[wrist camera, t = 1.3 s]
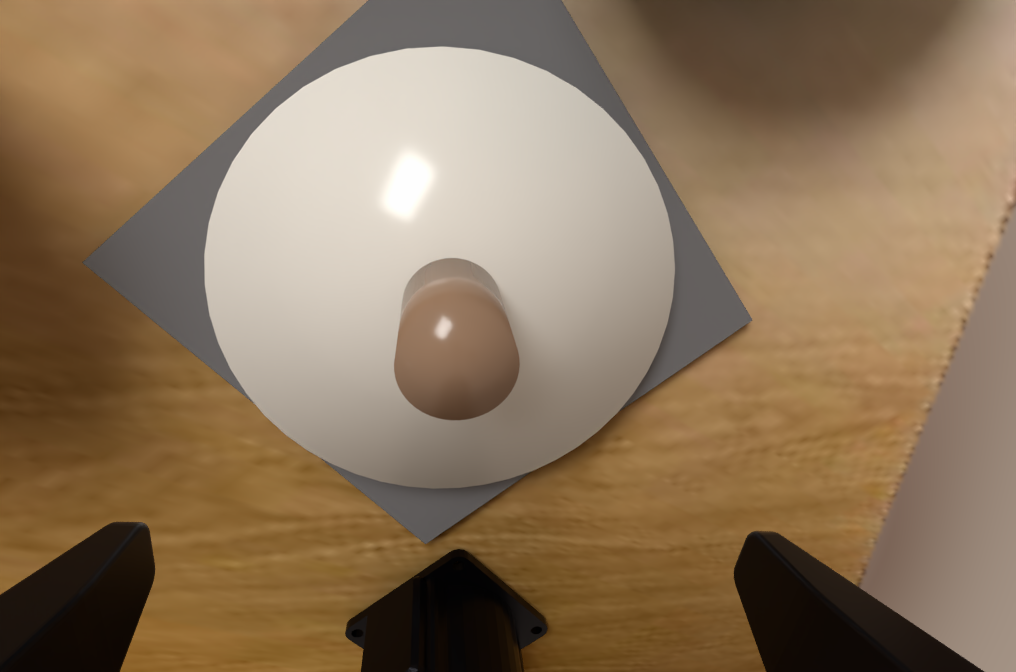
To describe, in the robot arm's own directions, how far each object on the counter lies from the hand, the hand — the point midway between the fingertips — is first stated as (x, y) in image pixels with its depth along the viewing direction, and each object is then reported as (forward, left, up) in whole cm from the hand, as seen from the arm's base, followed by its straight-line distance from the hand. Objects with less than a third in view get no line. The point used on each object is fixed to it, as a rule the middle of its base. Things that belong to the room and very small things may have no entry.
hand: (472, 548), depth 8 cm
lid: (0, 0, -11) cm, 11 cm away
